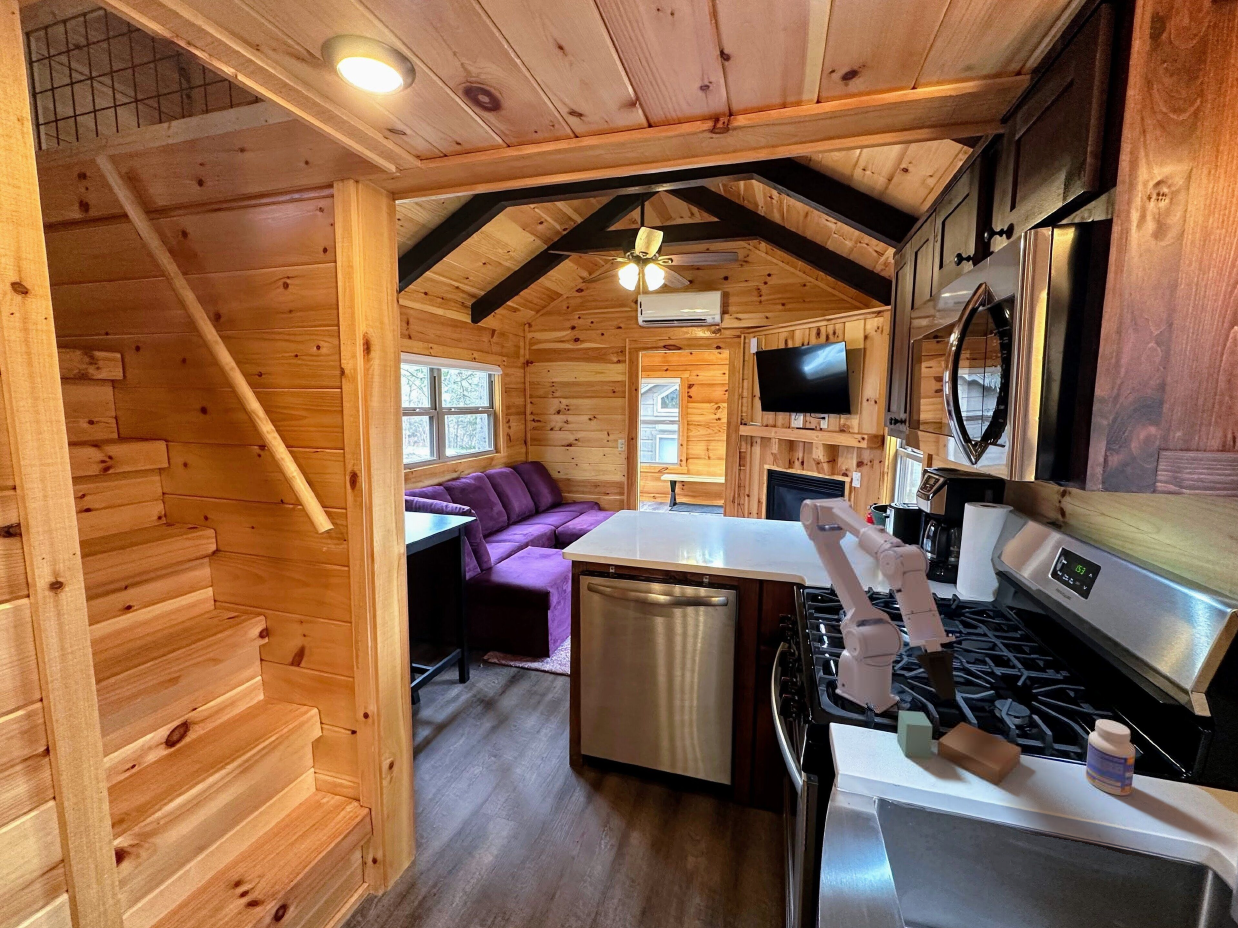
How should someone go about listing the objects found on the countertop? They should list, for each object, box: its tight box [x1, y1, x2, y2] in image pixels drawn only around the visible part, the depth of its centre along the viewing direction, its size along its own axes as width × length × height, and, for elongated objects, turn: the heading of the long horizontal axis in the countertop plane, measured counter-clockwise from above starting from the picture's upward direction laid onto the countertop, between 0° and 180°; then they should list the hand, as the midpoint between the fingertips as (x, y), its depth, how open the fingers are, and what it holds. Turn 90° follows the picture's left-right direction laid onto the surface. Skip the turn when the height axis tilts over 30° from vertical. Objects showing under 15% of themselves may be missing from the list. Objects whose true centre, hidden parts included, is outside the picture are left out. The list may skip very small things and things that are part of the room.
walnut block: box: [936, 721, 1022, 786], centre depth 90 cm, size 9×9×3 cm
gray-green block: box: [896, 710, 933, 760], centre depth 93 cm, size 4×4×6 cm
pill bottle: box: [1085, 718, 1136, 796], centre depth 84 cm, size 5×5×10 cm
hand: (946, 697), depth 89 cm, fingers open, 7 cm apart
